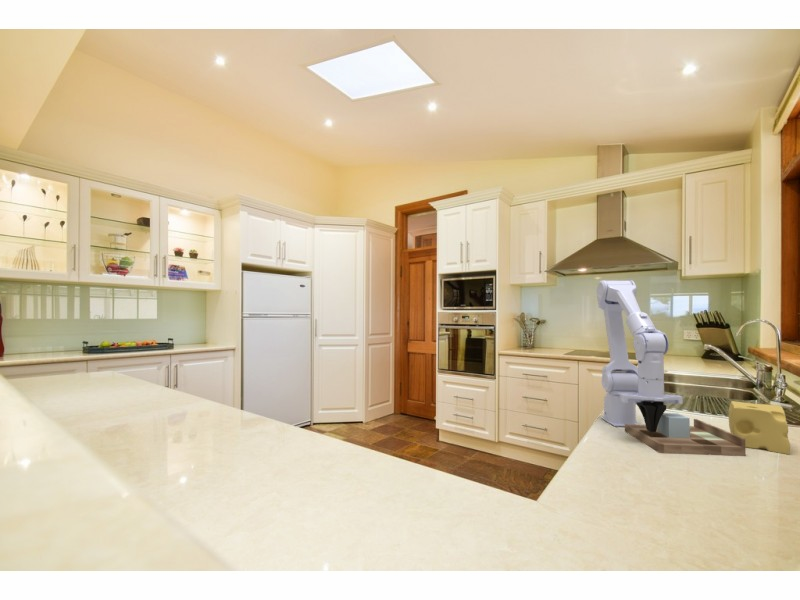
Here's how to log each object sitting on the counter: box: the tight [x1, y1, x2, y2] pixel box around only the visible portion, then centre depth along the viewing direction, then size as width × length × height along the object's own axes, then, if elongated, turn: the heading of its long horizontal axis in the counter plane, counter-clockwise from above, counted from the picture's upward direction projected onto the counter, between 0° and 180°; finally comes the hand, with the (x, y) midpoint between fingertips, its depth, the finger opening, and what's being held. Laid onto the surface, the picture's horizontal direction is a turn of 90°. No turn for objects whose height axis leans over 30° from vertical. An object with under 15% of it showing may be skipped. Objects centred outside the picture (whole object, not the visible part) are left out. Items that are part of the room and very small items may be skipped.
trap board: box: [624, 418, 747, 457], centre depth 102 cm, size 17×19×4 cm
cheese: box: [728, 400, 791, 455], centre depth 101 cm, size 10×11×10 cm
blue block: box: [658, 412, 691, 438], centre depth 102 cm, size 5×5×5 cm
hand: (651, 430), depth 102 cm, fingers closed
